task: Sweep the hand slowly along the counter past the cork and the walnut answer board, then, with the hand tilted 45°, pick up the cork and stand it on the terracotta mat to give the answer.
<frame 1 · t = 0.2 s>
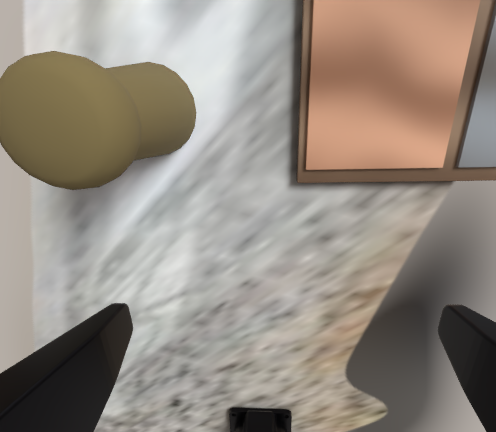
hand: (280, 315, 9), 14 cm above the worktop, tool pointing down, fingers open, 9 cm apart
cork: (153, 111, 21), on the worktop
answer board: (458, 85, 19), on the worktop
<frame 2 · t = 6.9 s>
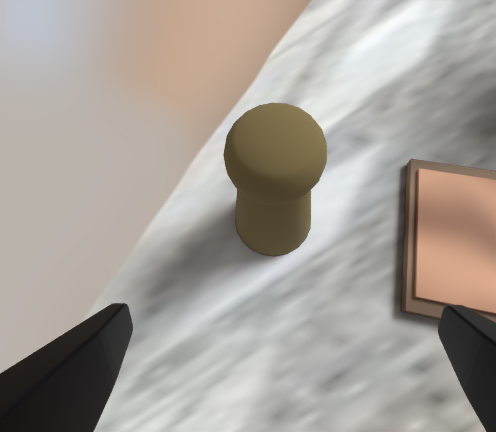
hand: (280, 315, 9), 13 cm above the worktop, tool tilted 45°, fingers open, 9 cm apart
cork: (272, 220, 24), on the worktop
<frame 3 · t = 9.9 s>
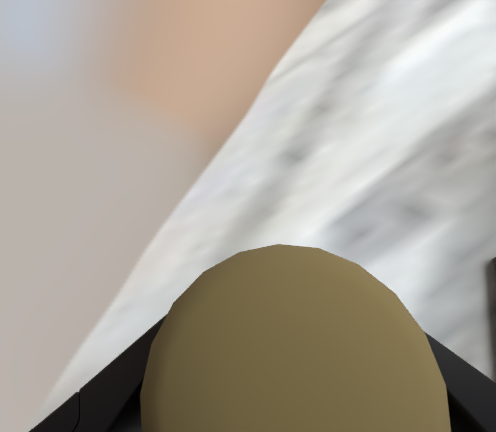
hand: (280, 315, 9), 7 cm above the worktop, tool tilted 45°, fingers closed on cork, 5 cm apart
cork: (276, 356, 14), on the worktop, touching gripper
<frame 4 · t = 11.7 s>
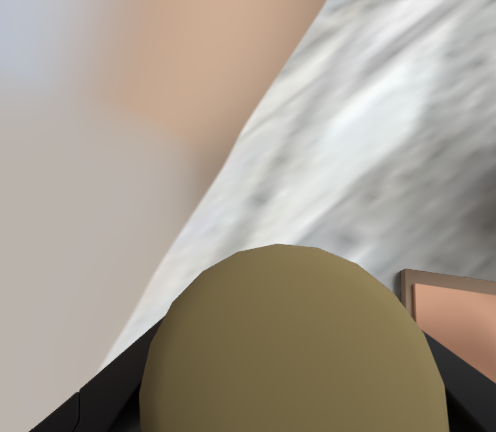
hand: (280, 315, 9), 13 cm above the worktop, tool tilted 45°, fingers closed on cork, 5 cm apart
cork: (275, 355, 14), point 6 cm above the worktop, touching gripper
when the fingers open (9 cm above the worktop, at t = 14.0 s): cork drops 1 cm, resting on answer board.
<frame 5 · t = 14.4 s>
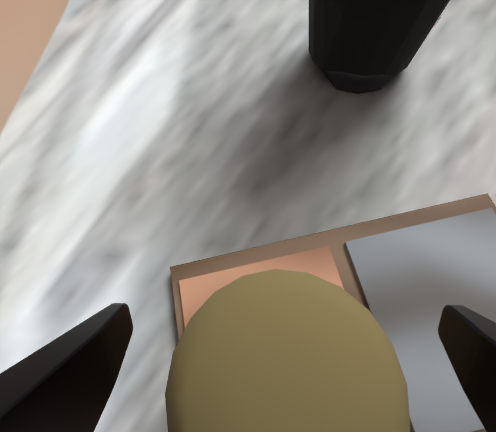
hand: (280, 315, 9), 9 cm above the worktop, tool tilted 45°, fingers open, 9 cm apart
portable speaker: (355, 60, 25), on the worktop
cork: (273, 358, 16), point 1 cm above the worktop, touching answer board
answer board: (362, 333, 17), on the worktop
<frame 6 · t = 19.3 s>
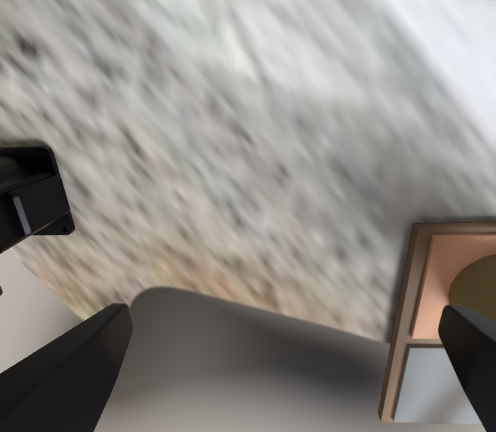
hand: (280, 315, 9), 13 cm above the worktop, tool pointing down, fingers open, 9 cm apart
cork: (490, 288, 22), point 1 cm above the worktop, touching answer board
answer board: (467, 333, 24), on the worktop
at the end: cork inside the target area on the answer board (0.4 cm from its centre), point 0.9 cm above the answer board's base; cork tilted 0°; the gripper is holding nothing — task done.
